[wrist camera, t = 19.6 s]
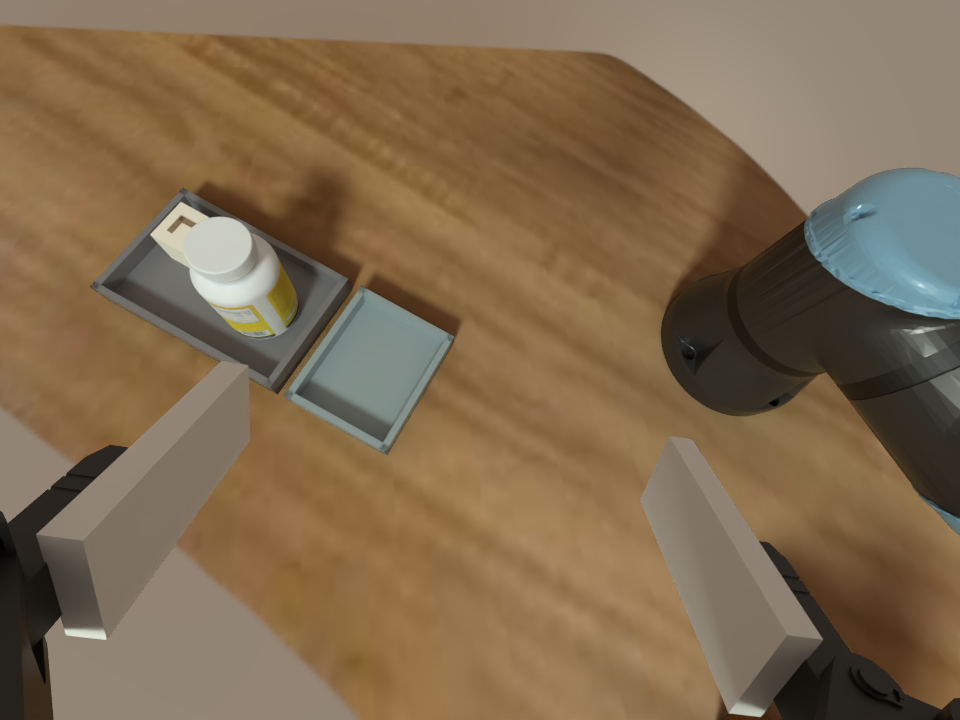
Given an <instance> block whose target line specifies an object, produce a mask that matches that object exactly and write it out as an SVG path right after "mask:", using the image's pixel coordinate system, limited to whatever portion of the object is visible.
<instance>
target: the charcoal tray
mask: <svg viewBox="0 0 960 720" xmlns="http://www.w3.org/2000/svg"><path fill="white" fill-rule="evenodd" d="M180 202H182V203H184V204H186V205H188V206H189V207H191V208H193V209H195V210H197V211H199V212H200V213H202V214H204V215H206V216H208V217H209V218H212V217H229V218H232V219H235V220H237V221H239V222H241V223H242V224H243V225H245V226H246V228H247V229H248V230H249V231H250V233H253V234H256V235H258V236H260V237H261V238H263V239H264V240H265V241H267V242H268V243H269V244H270V246H271V247H272V248H273V249H274V251H275V253H276V255H277V257H278V258H279V260H280V262H281V264H282V266H283V268H284V270H285V272H286V274H287V276H288V277H289V279H290V281H291V283H292V285H293V287H294V289H295V291H296V293H297V295H298V299H299V312H298V316H297V318H296V320H295V322H294V323H293V325H292V326H291V327H290V328H289V329H288V330H287V331H285V332H284V333H282V334H281V335H279V336H276V337H273V338H270V339H252V338H248V337H245V336H243V335H241V334H240V333H238V332H237V331H235V330H234V329H233V328H232V327H231V326H230V325H229V324H228V323H227V322H226V321H225V320H224V319H223V318H222V317H221V316H220V315H219V313H218V312H217V311H216V310H215V309H214V308H213V307H212V306H211V305H210V304H209V303H208V302H207V301H206V300H205V299H204V298H203V297H202V296H201V295H200V294H199V293H198V291H197V290H196V289H195V287H194V285H193V283H192V281H191V278H190V268H189V267H187V266H185V265H183V264H182V263H180V262H178V261H176V260H174V259H173V258H171V257H170V256H169V255H168V254H167V252H166V251H165V250H164V249H163V248H162V247H161V246H160V245H159V244H158V243H157V242H156V241H155V240H154V238H153V237H152V236H151V235H150V234H151V233H152V232H153V231H154V230H155V229H156V228H157V227H158V226H159V225H160V224H161V223H162V221H163V220H164V219H165V218H166V217H167V216H168V215H169V214H170V213H171V212H172V211H173V210H174V209H175V208H176V206H177V205H178V204H179V203H180ZM90 287H91V288H92V289H94V290H95V291H96V292H98V293H99V294H101V295H102V296H103V297H105V298H106V299H108V300H110V301H112V302H113V303H115V304H117V305H119V306H120V307H122V308H124V309H126V310H128V311H129V312H131V313H133V314H135V315H137V316H138V317H140V318H142V319H144V320H145V321H147V322H149V323H151V324H153V325H154V326H156V327H158V328H160V329H162V330H163V331H165V332H167V333H169V334H170V335H172V336H174V337H176V338H178V339H179V340H181V341H183V342H185V343H187V344H188V345H190V346H192V347H194V348H195V349H197V350H199V351H201V352H203V353H204V354H206V355H208V356H210V357H212V358H213V359H215V360H217V361H219V362H221V361H226V362H232V363H238V364H244V365H248V368H249V379H251V380H253V381H254V382H256V383H258V384H260V385H262V386H263V387H265V388H267V389H269V390H270V391H272V392H274V393H276V394H278V393H279V392H280V390H281V389H282V388H283V386H284V385H285V383H286V382H287V381H288V379H289V378H290V376H291V375H292V374H293V372H294V371H295V369H296V368H297V367H298V365H299V364H300V362H301V361H302V359H303V358H304V357H305V355H306V354H307V352H308V351H309V350H310V348H311V347H312V345H313V344H314V343H315V341H316V340H317V338H318V337H319V336H320V334H321V333H322V331H323V330H324V329H325V327H326V326H327V324H328V323H329V322H330V320H331V319H332V317H333V316H334V315H335V313H336V312H337V310H338V309H339V307H340V306H341V305H342V303H343V302H344V300H345V299H346V298H347V296H348V295H349V293H350V292H351V291H352V290H351V286H350V282H349V279H348V278H346V277H344V276H343V275H341V274H339V273H337V272H335V271H333V270H332V269H330V268H328V267H326V266H324V265H322V264H321V263H319V262H317V261H315V260H313V259H312V258H310V257H308V256H306V255H304V254H302V253H301V252H299V251H297V250H295V249H293V248H291V247H290V246H288V245H286V244H284V243H282V242H281V241H279V240H277V239H275V238H273V237H271V236H270V235H268V234H266V233H264V232H262V231H260V230H259V229H257V228H255V227H253V226H251V225H250V224H248V223H246V222H244V221H242V220H240V219H239V218H237V217H235V216H233V215H231V214H229V213H228V212H226V211H224V210H222V209H220V208H219V207H217V206H215V205H213V204H211V203H209V202H208V201H206V200H204V199H202V198H200V197H198V196H197V195H195V194H193V193H191V192H189V191H188V190H186V189H184V188H183V189H182V190H181V191H180V192H179V193H178V194H177V195H176V196H175V197H174V198H173V199H172V200H171V201H170V202H169V203H168V205H167V206H166V207H165V208H164V209H163V210H162V211H161V212H160V213H159V214H158V215H157V216H156V217H155V218H154V219H153V220H152V221H151V222H150V224H149V225H148V226H147V227H146V228H145V229H144V230H143V231H142V232H141V233H140V234H139V235H138V236H137V237H136V238H135V239H134V240H133V241H132V243H131V244H130V245H129V246H128V247H127V248H126V249H125V250H124V251H123V252H122V253H121V254H120V255H119V256H118V257H117V258H116V259H115V261H114V262H113V263H112V264H111V265H110V266H109V267H108V268H107V269H106V270H105V271H104V272H103V273H102V274H101V275H100V276H99V277H98V278H97V280H96V281H95V282H94V283H93V284H92V285H91V286H90Z"/></svg>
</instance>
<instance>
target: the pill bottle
mask: <svg viewBox="0 0 960 720" xmlns="http://www.w3.org/2000/svg"><path fill="white" fill-rule="evenodd" d="M183 253H184V256H185V258H186V260H187V262H188V263H189V264H190V278H191V281H192V283H193V285H194V287H195V289H196V290H197V291H198V293H199V294H200V295H201V296H202V297H203V298H204V299H205V300H206V301H207V302H208V303H209V304H210V305H211V306H212V307H213V308H214V309H215V310H216V311H217V312H218V313H219V315H220V316H221V317H222V318H223V319H224V320H225V321H226V322H227V323H228V324H229V325H230V326H231V327H232V328H233V329H234V330H235V331H237V332H238V333H240V334H241V335H243V336H245V337H248V338H252V339H270V338H273V337H276V336H279V335H281V334H282V333H284V332H285V331H287V330H288V329H289V328H290V327H291V326H292V325H293V323H294V322H295V320H296V318H297V316H298V312H299V299H298V295H297V293H296V291H295V289H294V287H293V285H292V283H291V281H290V279H289V277H288V276H287V274H286V272H285V270H284V268H283V266H282V264H281V262H280V260H279V258H278V257H277V255H276V253H275V251H274V249H273V248H272V247H271V246H270V244H269V243H268V242H267V241H265V240H264V239H263V238H261V237H260V236H258V235H256V234H253V233H250V231H249V230H248V229H247V228H246V226H245V225H243V224H242V223H241V222H239V221H237V220H235V219H232V218H229V217H212V218H208V219H205V220H203V221H200V222H199V223H197V224H196V225H194V226H193V227H192V228H191V229H190V230H189V231H188V233H187V234H186V236H185V239H184V242H183Z"/></svg>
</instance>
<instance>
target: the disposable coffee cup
mask: <svg viewBox="0 0 960 720" xmlns="http://www.w3.org/2000/svg"><path fill="white" fill-rule="evenodd" d="M724 720H770V719H766V718H764V717H756V716H748V715H739V714H731V715H729V716H727V717H726V718H725V719H724Z"/></svg>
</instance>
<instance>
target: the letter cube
mask: <svg viewBox="0 0 960 720" xmlns="http://www.w3.org/2000/svg"><path fill="white" fill-rule="evenodd" d="M208 218H209V217H208V216H206V215H204V214H202V213H200V212H199V211H197V210H195V209H193V208H191V207H189V206H188V205H186V204H184V203H182V202H180V203H179V204H178V205H177V206H176V208H175V209H174V210H173V211H172V212H171V213H170V214H169V215H168V216H167V217H166V218H165V219H164V220H163V221H162V223H161V224H160V225H159V226H158V227H157V228H156V229H155V230H154V231H153V232H152V233H151V234H150V235H151V236H152V237H153V238H154V240H155V241H156V242H157V243H158V244H159V245H160V246H161V247H162V248H163V249H164V250H165V251H166V252H167V254H168V255H169V256H170V257H171V258H173V259H174V260H176V261H178V262H180V263H182V264H183V265H185V266H187V267H189V268H190V264H189V263H188V262H187V260H186V258H185V256H184V253H183V242H184V239H185V236H186V234H187V233H188V231H189V230H190V229H191V228H192V227H193V226H194V225H196V224H197V223H199V222H200V221H203V220H205V219H208Z"/></svg>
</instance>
